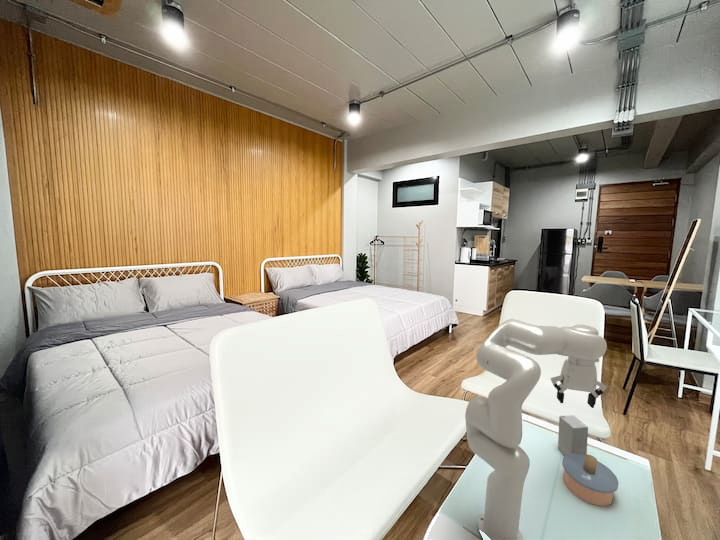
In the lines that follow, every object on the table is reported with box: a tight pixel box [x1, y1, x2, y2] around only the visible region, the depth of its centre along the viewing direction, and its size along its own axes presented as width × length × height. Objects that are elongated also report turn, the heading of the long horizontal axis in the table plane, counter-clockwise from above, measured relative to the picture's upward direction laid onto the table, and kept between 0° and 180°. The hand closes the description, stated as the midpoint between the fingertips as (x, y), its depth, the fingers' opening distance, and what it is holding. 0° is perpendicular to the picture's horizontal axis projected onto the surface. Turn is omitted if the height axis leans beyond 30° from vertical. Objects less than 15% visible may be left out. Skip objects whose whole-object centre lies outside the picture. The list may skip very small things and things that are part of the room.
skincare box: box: [557, 415, 589, 457], centre depth 120 cm, size 8×7×16 cm
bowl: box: [562, 469, 614, 507], centre depth 106 cm, size 14×14×6 cm
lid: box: [561, 453, 619, 494], centre depth 105 cm, size 16×16×6 cm
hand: (575, 403), depth 106 cm, fingers open, 9 cm apart
